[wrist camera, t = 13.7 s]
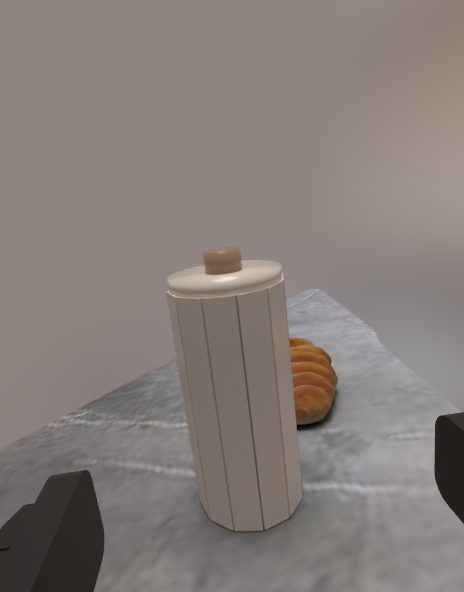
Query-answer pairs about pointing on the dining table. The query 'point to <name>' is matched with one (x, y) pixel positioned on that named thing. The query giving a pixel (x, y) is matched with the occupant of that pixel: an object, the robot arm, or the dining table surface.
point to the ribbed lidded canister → (237, 388)
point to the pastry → (311, 381)
